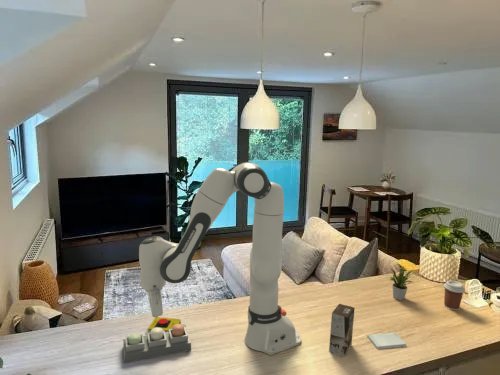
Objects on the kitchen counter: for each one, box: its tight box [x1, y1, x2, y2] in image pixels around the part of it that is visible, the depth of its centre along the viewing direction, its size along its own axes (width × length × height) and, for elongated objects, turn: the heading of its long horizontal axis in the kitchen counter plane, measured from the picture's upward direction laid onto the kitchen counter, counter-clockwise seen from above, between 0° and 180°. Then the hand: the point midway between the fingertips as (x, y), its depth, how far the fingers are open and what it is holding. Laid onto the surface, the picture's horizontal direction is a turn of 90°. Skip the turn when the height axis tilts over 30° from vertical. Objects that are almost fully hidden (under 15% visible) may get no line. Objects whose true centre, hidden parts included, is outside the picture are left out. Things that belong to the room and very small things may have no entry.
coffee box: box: [328, 303, 355, 357], centre depth 141 cm, size 9×6×16 cm
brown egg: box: [172, 323, 184, 337], centre depth 141 cm, size 4×4×3 cm
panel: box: [122, 327, 192, 364], centre depth 139 cm, size 24×10×5 cm, turn 110°
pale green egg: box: [127, 333, 141, 345], centre depth 136 cm, size 4×4×3 cm
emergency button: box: [144, 316, 187, 336], centre depth 152 cm, size 9×4×15 cm
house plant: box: [389, 266, 415, 301], centre depth 182 cm, size 14×14×16 cm
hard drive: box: [366, 332, 407, 350], centre depth 147 cm, size 2×8×12 cm
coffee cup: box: [443, 280, 466, 311], centre depth 175 cm, size 9×9×12 cm
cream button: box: [151, 328, 163, 341], centre depth 139 cm, size 4×4×3 cm
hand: (155, 315), depth 137 cm, fingers closed
